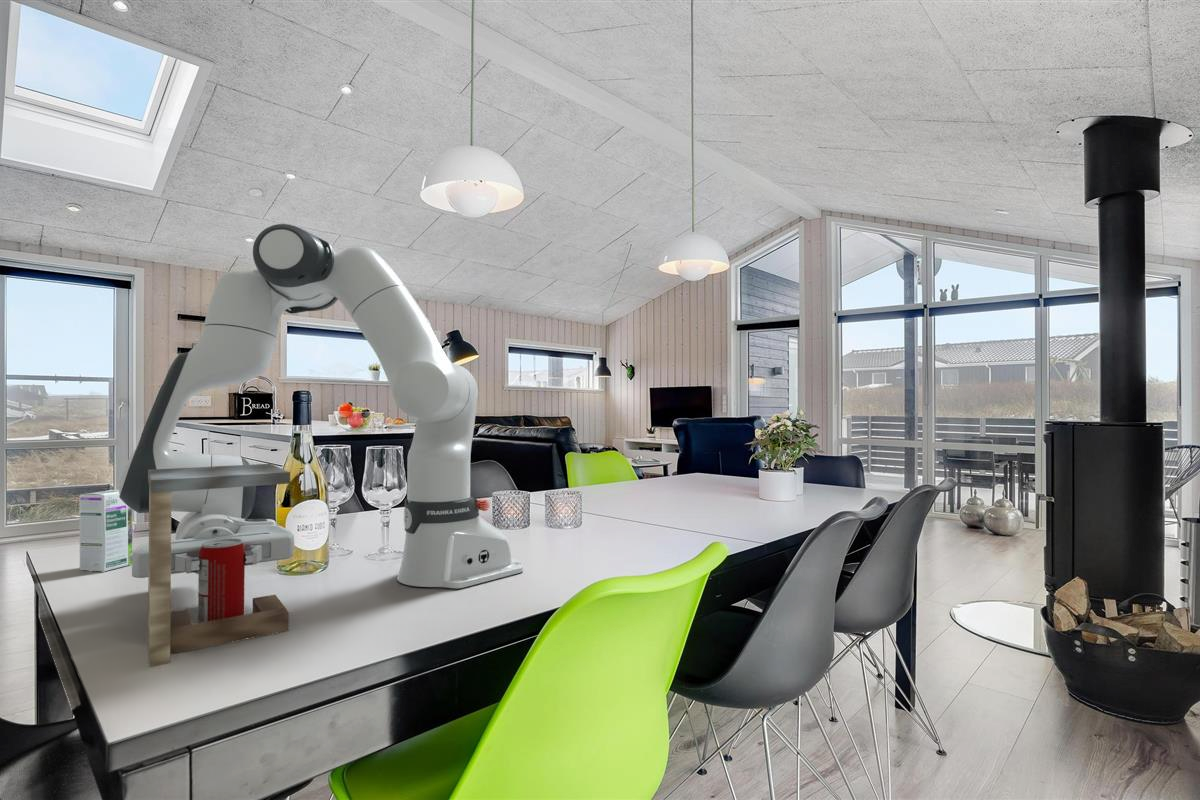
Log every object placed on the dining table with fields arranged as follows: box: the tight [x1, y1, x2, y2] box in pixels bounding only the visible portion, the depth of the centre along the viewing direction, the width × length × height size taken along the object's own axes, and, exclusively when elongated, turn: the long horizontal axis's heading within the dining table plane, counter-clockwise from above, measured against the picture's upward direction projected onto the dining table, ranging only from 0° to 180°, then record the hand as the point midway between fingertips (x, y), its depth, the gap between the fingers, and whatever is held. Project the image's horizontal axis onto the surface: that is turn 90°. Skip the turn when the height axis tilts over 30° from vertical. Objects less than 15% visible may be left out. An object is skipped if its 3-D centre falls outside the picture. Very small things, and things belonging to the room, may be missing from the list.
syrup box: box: [78, 489, 133, 573], centre depth 117 cm, size 6×6×14 cm
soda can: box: [197, 538, 245, 623], centre depth 86 cm, size 6×6×12 cm
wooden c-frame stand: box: [147, 463, 291, 668], centre depth 83 cm, size 15×15×22 cm
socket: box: [170, 594, 290, 655], centre depth 84 cm, size 14×10×2 cm
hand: (223, 562), depth 85 cm, fingers open, 5 cm apart
